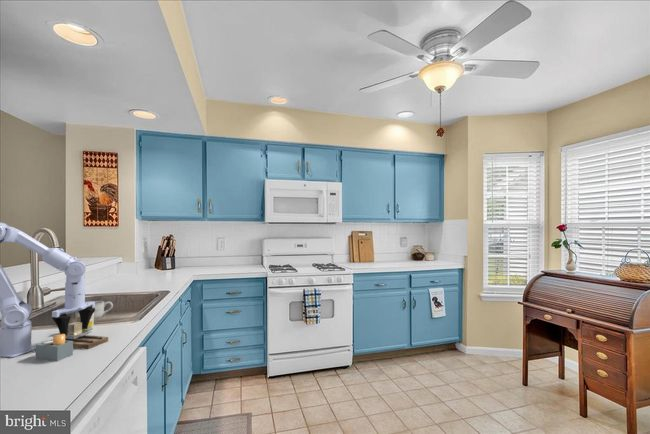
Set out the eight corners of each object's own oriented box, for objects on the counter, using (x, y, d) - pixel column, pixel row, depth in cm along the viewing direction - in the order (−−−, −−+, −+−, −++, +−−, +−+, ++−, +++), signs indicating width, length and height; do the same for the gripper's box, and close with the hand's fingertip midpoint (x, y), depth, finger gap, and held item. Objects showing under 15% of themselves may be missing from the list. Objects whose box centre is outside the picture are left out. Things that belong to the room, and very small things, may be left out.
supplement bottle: (90, 333, 126) (90, 308, 127) (74, 334, 125) (74, 309, 125) (95, 329, 132) (96, 305, 132) (80, 330, 130) (80, 306, 130)
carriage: (59, 338, 114) (60, 325, 114) (75, 332, 119) (75, 320, 119) (73, 339, 113) (74, 326, 113) (88, 333, 118) (88, 321, 118)
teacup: (69, 324, 137) (69, 306, 137) (81, 317, 148) (81, 300, 148) (106, 322, 141) (107, 304, 141) (115, 315, 151) (116, 298, 151)
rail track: (54, 346, 113) (55, 339, 113) (76, 338, 121) (76, 332, 121) (88, 349, 110) (88, 342, 110) (108, 341, 118) (108, 334, 118)
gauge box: (35, 359, 102) (35, 343, 102) (51, 352, 107) (52, 337, 107) (57, 361, 100) (57, 345, 100) (72, 354, 105) (73, 339, 105)
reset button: (50, 352, 102) (50, 336, 102) (59, 348, 105) (60, 333, 105) (58, 353, 102) (58, 337, 102) (67, 349, 104) (67, 334, 105)
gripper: (64, 299, 109) (63, 339, 108) (101, 290, 123) (101, 326, 122) (47, 298, 110) (46, 338, 110) (86, 289, 124) (85, 325, 124)
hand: (74, 331), depth 116 cm, fingers open, 7 cm apart
